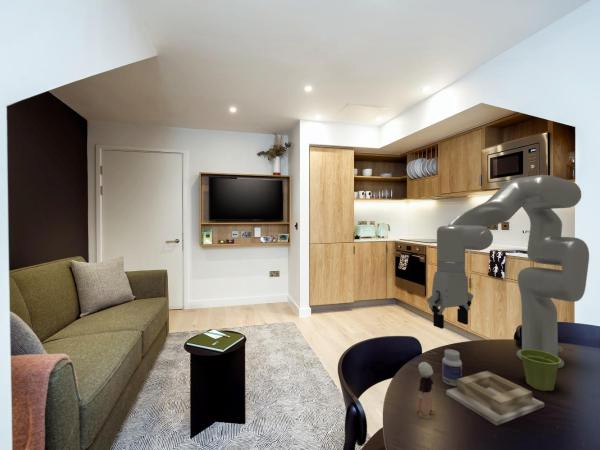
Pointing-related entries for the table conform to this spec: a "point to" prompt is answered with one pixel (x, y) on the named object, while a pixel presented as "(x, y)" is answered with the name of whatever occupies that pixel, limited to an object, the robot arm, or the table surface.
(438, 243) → the robot arm
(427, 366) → the grandmother figurine
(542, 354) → the plant pot
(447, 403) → the table surface
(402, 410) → the table surface
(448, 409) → the table surface
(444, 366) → the pill bottle
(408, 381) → the table surface
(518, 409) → the frame
